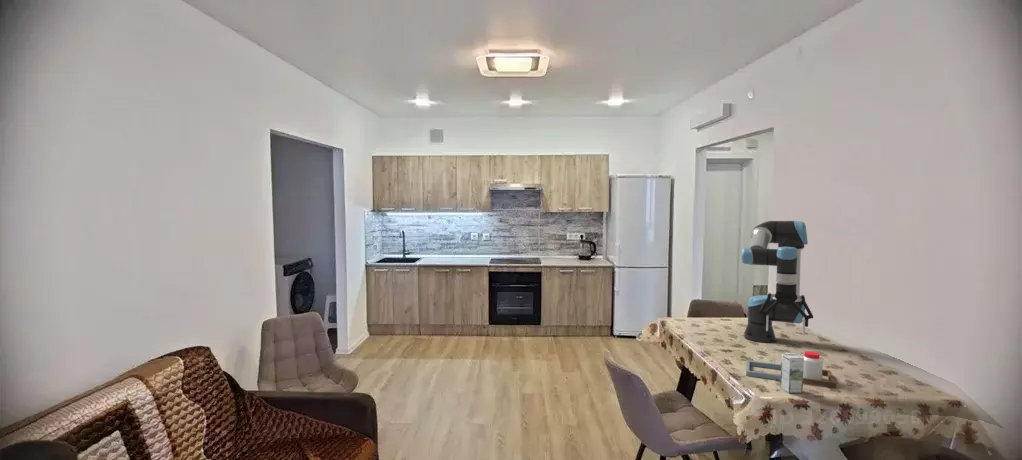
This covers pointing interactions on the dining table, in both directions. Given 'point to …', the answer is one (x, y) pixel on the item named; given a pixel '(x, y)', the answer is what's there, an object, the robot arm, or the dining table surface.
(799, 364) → the syrup box
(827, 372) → the walnut frame
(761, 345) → the dining table surface
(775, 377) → the slate frame
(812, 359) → the pill bottle
